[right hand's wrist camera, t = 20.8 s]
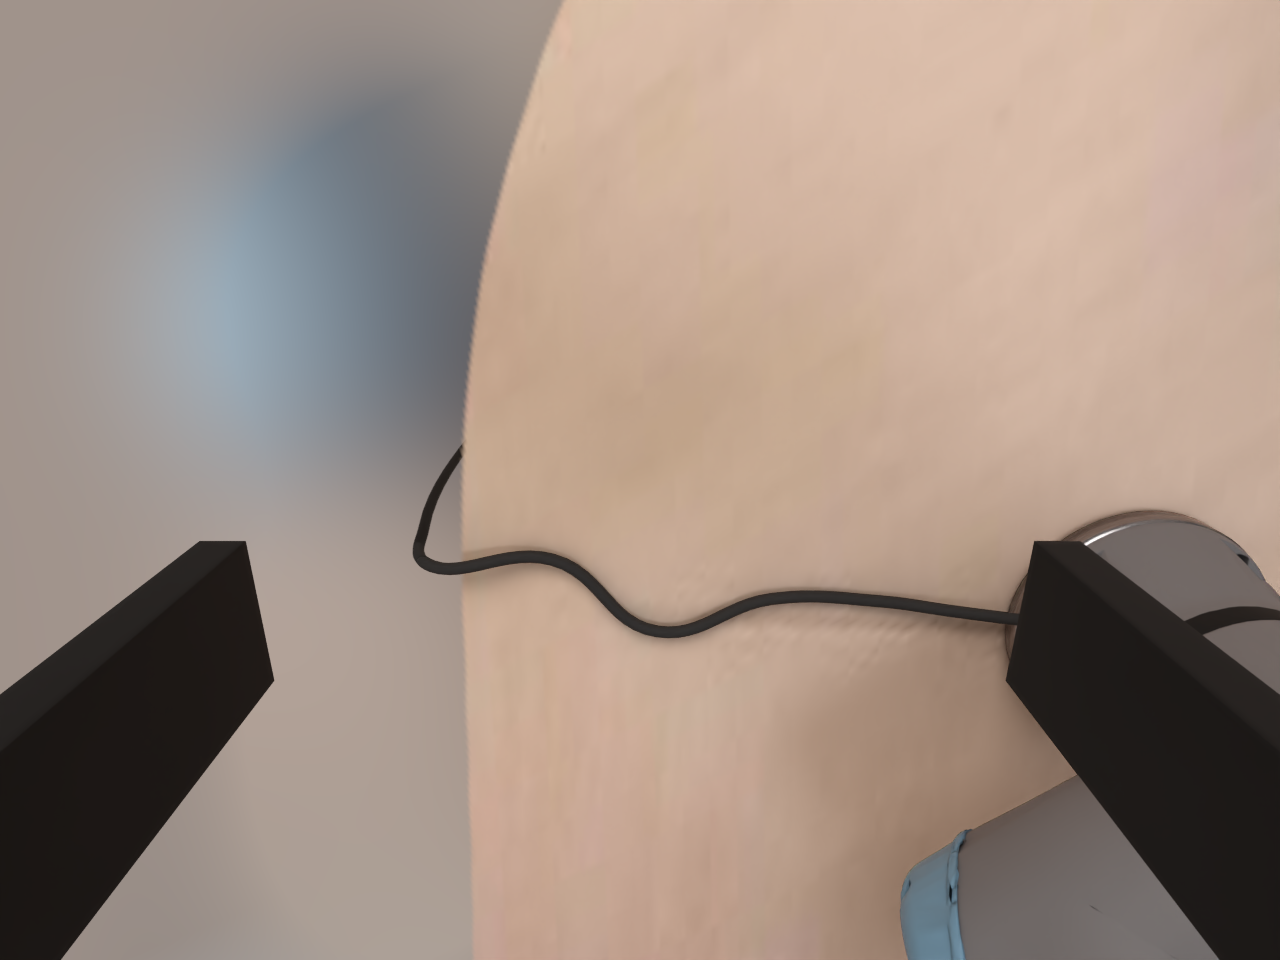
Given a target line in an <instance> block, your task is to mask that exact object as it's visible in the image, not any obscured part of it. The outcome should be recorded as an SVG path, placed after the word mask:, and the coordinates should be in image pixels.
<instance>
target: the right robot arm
mask: <svg viewBox="0 0 1280 960" xmlns="http://www.w3.org/2000/svg"><path fill="white" fill-rule="evenodd" d="M463 443H464V442H463ZM463 443H462V445H461V446H460V447H459V448H458V450H457V451H456V453H455V454H454V455H453V456H452V458H451V459H450V461H449V462H448V464H447V465H446V467H445V468H444V469H443V471H442V473H441V474H440V476H439V478H438V479H437V481H436V483H435V484H434V486H433V488H432V490H431V492H430V494H429V496H428V499H427V501H426V504H425V506H424V509H423V512H422V515H421V519H420V523H419V527H418V530H417V534H416V537H415V540H414V543H413V558H414V560H415V561H416V563H417V564H418V565H419V566H420V567H421V568H423V569H424V570H427V571H429V572H432V573H436V574H444V575H457V574H465V573H471V572H476V571H481V570H485V569H489V568H494V567H498V566H503V565H509V564H517V563H541V564H546V565H551V566H554V567H556V568H559V569H562V570H564V571H566V572H567V573H569V574H571V575H573V576H574V577H575V578H577V579H578V580H579V581H581V582H582V583H583V584H584V585H585V586H586V587H587V588H588V589H589V590H590V591H591V592H592V593H593V594H594V595H595V596H596V597H597V598H598V600H599V601H600V602H601V603H602V604H603V605H604V606H605V607H606V608H607V609H608V610H609V611H610V612H611V613H612V614H613V615H614V616H615V617H616V618H617V619H618V620H620V621H621V622H622V623H623V624H625V625H626V626H628V627H630V628H631V629H633V630H635V631H637V632H640V633H642V634H645V635H649V636H654V637H661V638H679V637H685V636H690V635H693V634H697V633H700V632H702V631H705V630H707V629H709V628H712V627H714V626H716V625H718V624H720V623H722V622H724V621H726V620H728V619H730V618H732V617H735V616H737V615H739V614H741V613H744V612H747V611H749V610H752V609H755V608H759V607H763V606H769V605H775V604H785V603H801V602H819V603H837V604H849V605H860V606H871V607H883V608H893V609H901V610H909V611H915V612H921V613H928V614H934V615H941V616H947V617H955V618H962V619H970V620H977V621H985V622H993V623H1001V624H1006V647H1007V652H1008V656H1009V659H1010V662H1009V667H1008V672H1007V677H1006V682H1007V683H1008V684H1009V686H1010V687H1011V688H1012V689H1013V691H1014V692H1015V693H1016V695H1017V696H1018V697H1019V699H1020V700H1021V701H1022V703H1023V704H1024V705H1025V706H1026V708H1027V709H1028V710H1029V712H1030V713H1031V714H1032V716H1033V717H1034V718H1035V720H1036V721H1037V722H1038V723H1039V725H1040V726H1041V727H1042V729H1043V730H1044V731H1045V733H1046V734H1047V735H1048V737H1049V738H1050V739H1051V740H1052V742H1053V743H1054V744H1055V746H1056V747H1057V748H1058V750H1059V751H1060V752H1061V754H1062V755H1063V756H1064V757H1065V759H1066V760H1067V761H1068V763H1069V764H1070V765H1071V767H1072V768H1073V769H1074V771H1075V772H1076V773H1077V774H1078V775H1076V776H1074V777H1072V778H1071V779H1069V780H1067V781H1065V782H1063V783H1061V784H1059V785H1058V786H1056V787H1054V788H1052V789H1050V790H1048V791H1047V792H1045V793H1043V794H1041V795H1039V796H1037V797H1035V798H1034V799H1032V800H1030V801H1028V802H1026V803H1024V804H1022V805H1020V806H1018V807H1016V808H1014V809H1012V810H1010V811H1008V812H1006V813H1005V814H1003V815H1001V816H999V817H997V818H995V819H993V820H991V821H989V822H987V823H985V824H983V825H981V826H979V827H977V828H975V829H969V830H965V831H962V832H960V833H959V834H958V835H957V837H956V838H955V839H954V841H953V842H952V843H950V844H948V845H947V846H945V847H944V848H942V849H941V850H939V851H937V852H936V853H934V854H932V855H931V856H929V857H927V858H926V859H924V860H922V861H921V862H919V863H918V864H917V865H915V866H914V867H913V868H912V869H911V870H910V872H909V873H908V874H907V876H906V878H905V880H904V883H903V887H902V891H901V908H900V918H901V927H902V934H903V939H904V944H905V949H906V953H907V957H908V960H1280V596H1279V595H1278V594H1277V592H1276V591H1275V590H1274V589H1273V588H1272V587H1271V586H1270V585H1269V584H1268V583H1267V582H1266V581H1265V579H1264V577H1263V575H1262V573H1261V571H1260V569H1259V568H1258V567H1257V565H1256V564H1255V562H1254V561H1253V560H1252V559H1251V558H1250V556H1249V555H1248V554H1247V553H1246V552H1245V551H1244V550H1243V549H1242V548H1241V547H1240V546H1239V545H1238V544H1237V543H1236V542H1234V541H1233V540H1232V539H1230V538H1229V537H1227V536H1225V535H1224V534H1222V533H1221V532H1219V531H1217V530H1215V529H1213V528H1212V527H1210V526H1208V525H1206V524H1205V523H1203V522H1201V521H1198V520H1196V519H1194V518H1191V517H1188V516H1185V515H1181V514H1177V513H1172V512H1164V511H1137V512H1131V513H1124V514H1120V515H1116V516H1112V517H1108V518H1105V519H1102V520H1099V521H1097V522H1095V523H1092V524H1090V525H1087V526H1085V527H1083V528H1081V529H1079V530H1077V531H1076V532H1074V533H1072V534H1071V535H1069V536H1067V537H1066V538H1064V539H1063V540H1062V541H1034V545H1033V550H1032V555H1031V560H1030V565H1029V570H1028V574H1027V575H1026V577H1025V578H1024V579H1023V581H1022V583H1021V584H1020V586H1019V588H1018V590H1017V592H1016V594H1015V596H1014V598H1013V600H1012V603H1011V606H1010V609H1009V612H1001V611H993V610H985V609H978V608H970V607H962V606H955V605H947V604H941V603H934V602H928V601H921V600H915V599H908V598H901V597H892V596H881V595H869V594H858V593H847V592H834V591H787V592H777V593H769V594H763V595H758V596H755V597H751V598H748V599H745V600H742V601H740V602H737V603H735V604H733V605H730V606H728V607H726V608H724V609H722V610H720V611H718V612H716V613H714V614H712V615H710V616H708V617H705V618H703V619H701V620H698V621H696V622H693V623H690V624H686V625H681V626H670V627H667V626H657V625H653V624H649V623H646V622H644V621H641V620H639V619H637V618H636V617H634V616H632V615H631V614H630V613H628V612H627V611H626V610H625V609H624V608H623V607H622V606H621V605H619V604H618V603H617V602H616V600H615V599H614V598H613V597H612V596H611V595H610V594H609V593H608V592H607V590H606V589H605V588H604V587H603V586H602V585H601V584H600V583H599V582H598V581H597V580H596V579H595V578H594V577H593V576H592V575H591V574H590V573H589V572H588V571H586V570H585V569H583V568H582V567H581V566H579V565H578V564H576V563H574V562H572V561H571V560H569V559H567V558H564V557H561V556H559V555H556V554H552V553H547V552H542V551H515V552H507V553H502V554H497V555H492V556H487V557H483V558H479V559H474V560H469V561H464V562H457V563H442V562H438V561H434V560H432V559H430V558H429V557H427V556H426V555H425V552H424V548H425V543H426V540H427V537H428V533H429V529H430V524H431V520H432V516H433V513H434V510H435V507H436V504H437V501H438V499H439V497H440V495H441V493H442V491H443V488H444V486H445V485H446V483H447V481H448V479H449V477H450V476H451V474H452V472H453V471H454V469H455V468H456V466H457V465H458V463H459V462H460V460H461V459H462V457H463V451H464V445H463ZM273 682H274V677H273V672H272V667H271V662H270V658H269V653H268V648H267V643H266V638H265V633H264V628H263V623H262V618H261V614H260V609H259V604H258V599H257V594H256V589H255V584H254V580H253V575H252V570H251V565H250V560H249V555H248V550H247V545H246V541H199V542H198V543H197V544H195V545H194V546H193V547H191V548H190V549H189V550H187V551H186V552H185V553H184V554H182V555H181V556H180V557H178V558H177V559H176V560H175V561H173V562H172V563H171V564H169V565H168V566H167V567H165V568H164V569H163V570H162V571H160V572H159V573H158V574H156V575H155V576H154V577H152V578H151V579H150V580H148V581H147V582H146V583H145V584H143V585H142V586H141V587H139V588H138V589H137V590H135V591H134V592H133V593H132V594H130V595H129V596H128V597H126V598H125V599H124V600H122V601H121V602H120V603H119V604H117V605H116V606H115V607H113V608H112V609H111V610H109V611H108V612H107V613H106V614H104V615H103V616H102V617H100V618H99V619H98V620H97V621H95V622H94V623H93V624H91V625H90V626H89V627H87V628H86V629H85V630H83V631H82V632H81V633H80V634H78V635H77V636H76V637H74V638H73V639H72V640H70V641H69V642H68V643H67V644H65V645H64V646H63V647H61V648H60V649H59V650H58V651H56V652H55V653H54V654H52V655H51V656H50V657H48V658H47V659H46V660H44V661H43V662H42V663H41V664H39V665H38V666H37V667H35V668H34V669H33V670H31V671H30V672H29V673H28V674H26V675H25V676H24V677H22V678H21V679H20V680H18V681H17V682H16V683H15V684H13V685H12V686H11V687H9V688H8V689H7V690H6V691H4V692H3V693H2V694H0V960H61V959H62V958H63V956H64V955H65V953H66V952H67V951H68V950H69V948H70V947H71V946H72V944H73V943H74V942H75V941H76V939H77V938H78V937H79V935H80V934H81V933H82V931H83V930H84V929H85V927H86V926H87V925H88V923H89V922H90V921H91V920H92V918H93V917H94V916H95V914H96V913H97V912H98V910H99V909H100V908H101V907H102V905H103V904H104V903H105V901H106V900H107V899H108V897H109V896H110V895H111V893H112V892H113V891H114V890H115V888H116V887H117V886H118V884H119V883H120V882H121V880H122V879H123V878H124V876H125V875H126V874H127V873H128V871H129V870H130V869H131V867H132V866H133V865H134V863H135V862H136V861H137V859H138V858H139V857H140V856H141V854H142V853H143V852H144V850H145V849H146V848H147V846H148V845H149V844H150V842H151V841H152V840H153V839H154V837H155V836H156V835H157V833H158V832H159V831H160V829H161V828H162V827H163V825H164V824H165V823H166V822H167V820H168V819H169V818H170V816H171V815H172V814H173V812H174V811H175V810H176V808H177V807H178V806H179V804H180V803H181V802H182V801H183V799H184V798H185V797H186V795H187V794H188V793H189V791H190V790H191V789H192V787H193V786H194V785H195V784H196V782H197V781H198V780H199V778H200V777H201V776H202V774H203V773H204V772H205V770H206V769H207V768H208V767H209V765H210V764H211V763H212V761H213V760H214V759H215V757H216V756H217V755H218V754H219V752H220V751H221V750H222V748H223V747H224V746H225V744H226V743H227V742H228V740H229V739H230V738H231V736H232V735H233V734H234V733H235V731H236V730H237V729H238V727H239V726H240V725H241V723H242V722H243V721H244V720H245V718H246V717H247V716H248V714H249V713H250V712H251V710H252V709H253V708H254V706H255V705H256V704H257V703H258V701H259V700H260V699H261V697H262V696H263V695H264V693H265V692H266V691H267V689H268V688H269V687H270V686H271V684H272V683H273Z"/></svg>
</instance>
